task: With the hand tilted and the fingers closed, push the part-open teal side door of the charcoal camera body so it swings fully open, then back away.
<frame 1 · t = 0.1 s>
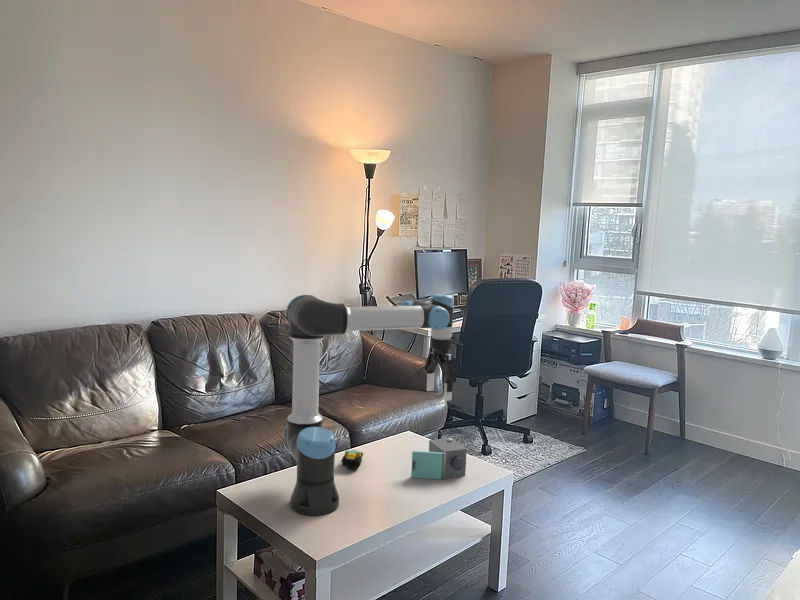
hand: (438, 395, 220), 28 cm above the table, fingers open, 13 cm apart
gadget: (353, 465, 225), on the table
side door: (428, 465, 214), point 5 cm above the table, hinge at 62.0°
camera body: (446, 470, 222), on the table
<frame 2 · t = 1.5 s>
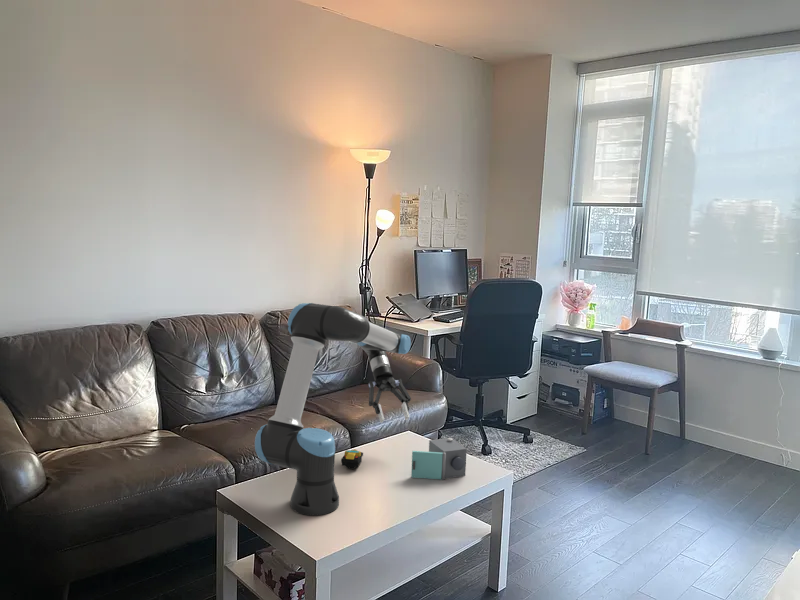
hand: (395, 419, 231), 15 cm above the table, fingers open, 10 cm apart
nothing on the table moved.
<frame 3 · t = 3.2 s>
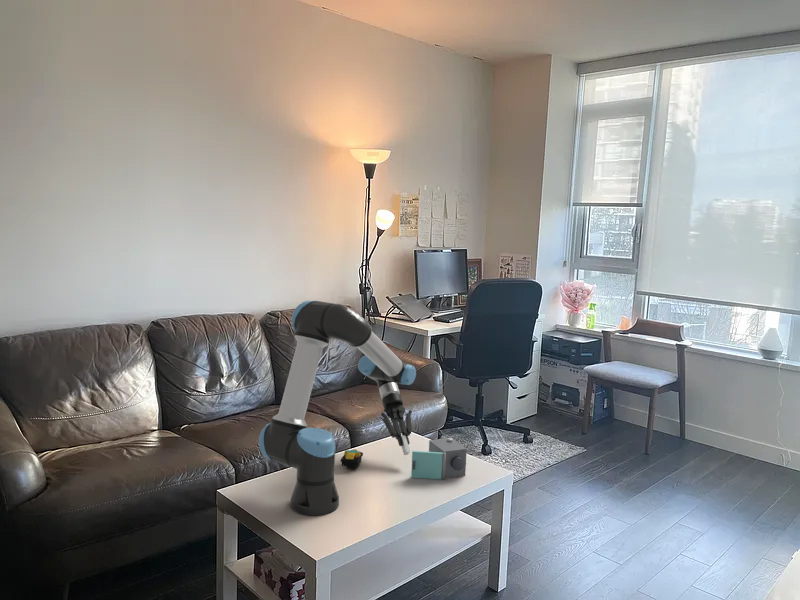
hand: (407, 453, 223), 5 cm above the table, fingers closed
nothing on the table moved.
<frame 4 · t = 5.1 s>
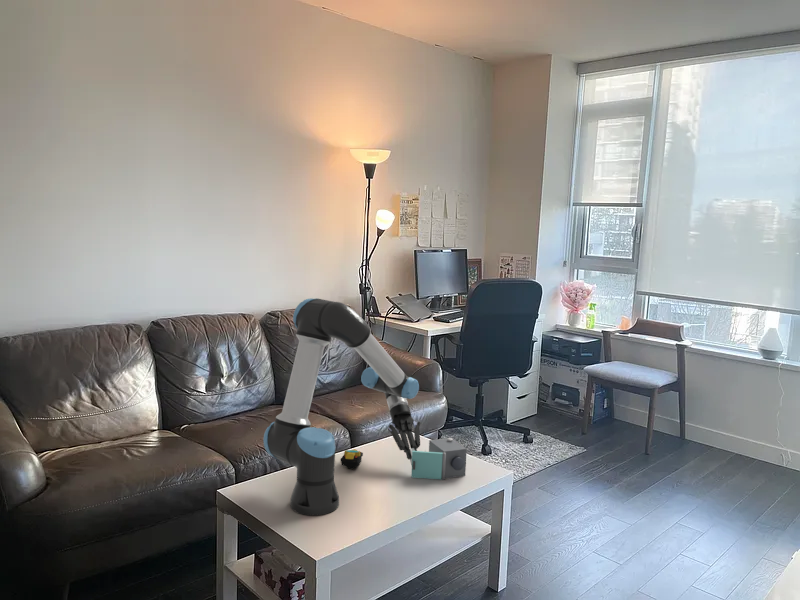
hand: (415, 466, 216), 3 cm above the table, fingers closed
side door: (428, 465, 214), point 5 cm above the table, hinge at 62.3°, touching gripper
everything else where it was.
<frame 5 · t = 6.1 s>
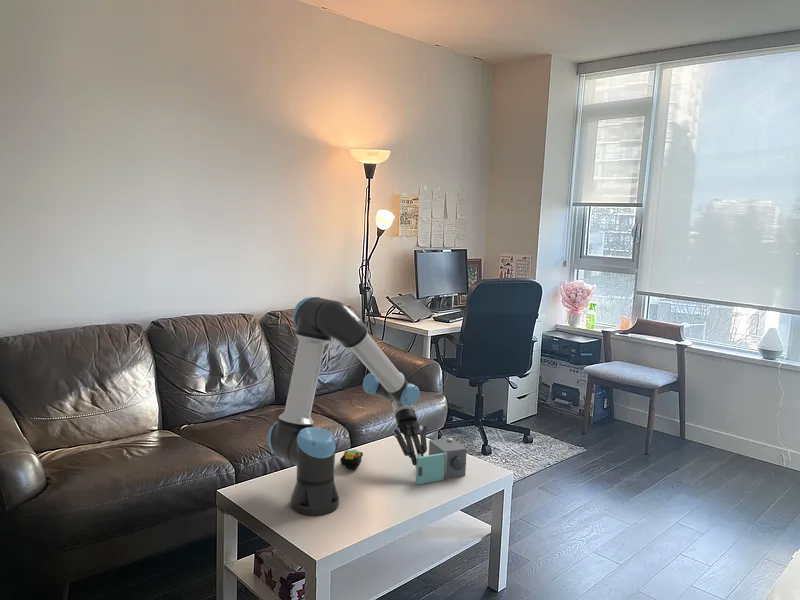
hand: (421, 473, 211), 3 cm above the table, fingers closed, pressing on side door
side door: (432, 468, 211), point 5 cm above the table, hinge at 94.5°, touching gripper
everything else where it was.
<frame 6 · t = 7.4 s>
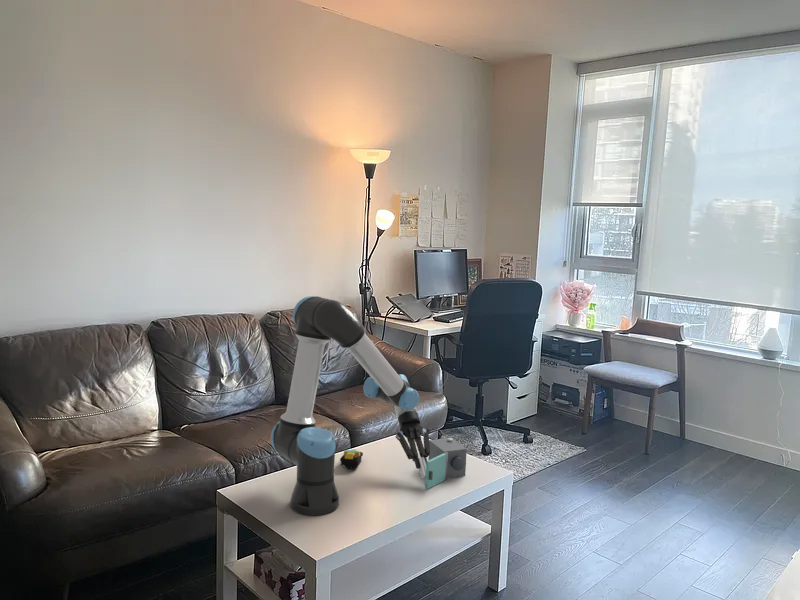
hand: (425, 476, 208), 3 cm above the table, fingers closed
side door: (438, 470, 209), point 5 cm above the table, hinge at 118.4°, touching gripper
everything else where it was.
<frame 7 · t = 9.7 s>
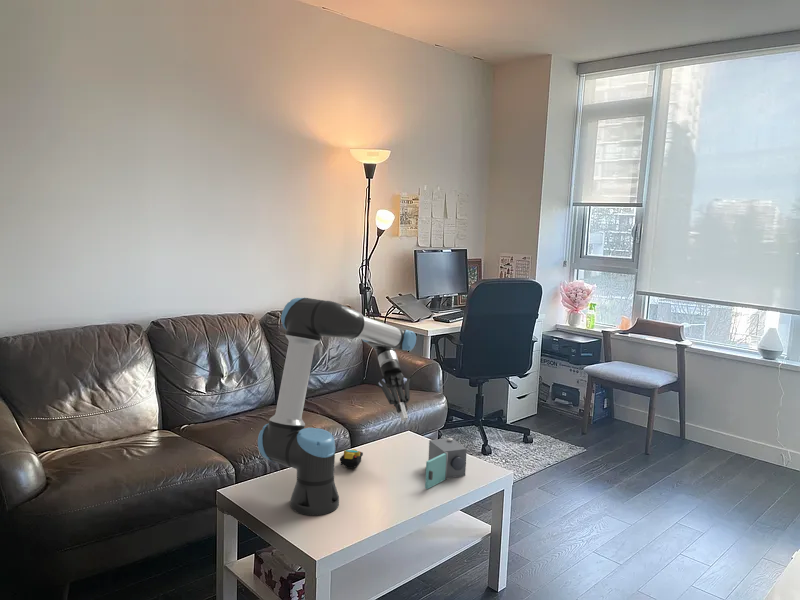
hand: (404, 419, 223), 18 cm above the table, fingers closed
side door: (438, 470, 209), point 5 cm above the table, hinge at 118.5°
everything else where it was.
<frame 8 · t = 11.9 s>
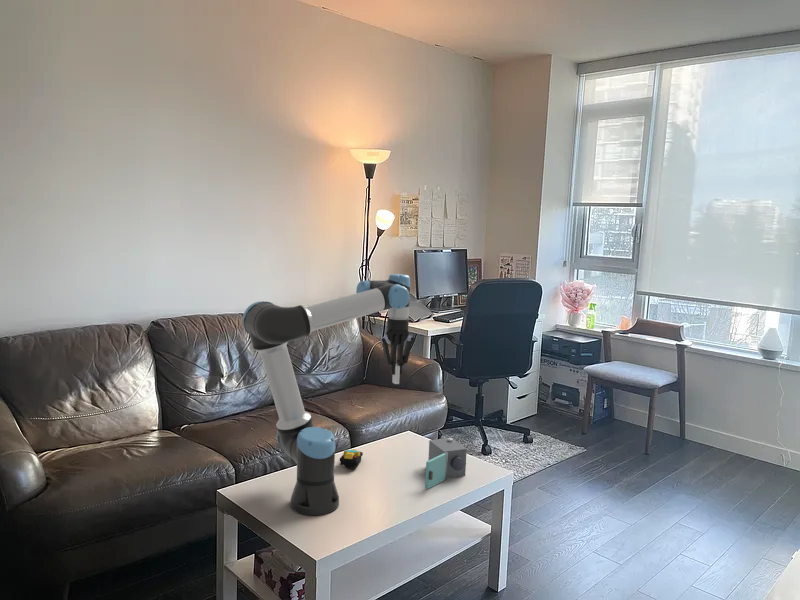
hand: (395, 383, 217), 32 cm above the table, fingers closed
nothing on the table moved.
at the end: side door at +118° (first picture: +62°); side door touching nothing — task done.
